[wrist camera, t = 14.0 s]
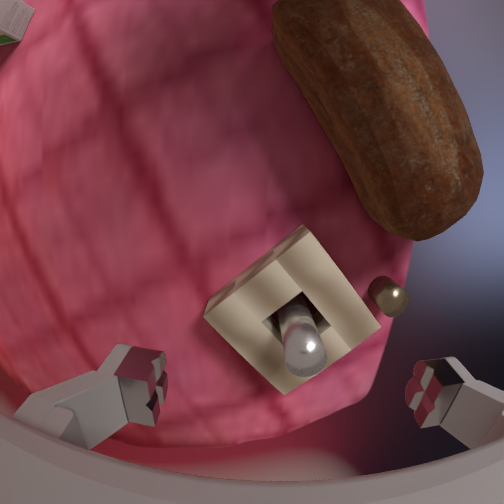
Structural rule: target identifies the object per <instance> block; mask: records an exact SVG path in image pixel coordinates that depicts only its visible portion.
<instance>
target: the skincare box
mask: <svg viewBox="0 0 504 504" xmlns="http://www.w3.org/2000/svg"><path fill="white" fill-rule="evenodd" d="M34 12H35V9H33V8H32V7H30V6H29V5H27V4H26V3H25V2H23V1H22V0H0V46H1V45H5V44H10V43H14V42H19V41H21V40H22V38H23V36H24V33H25V31H26V29H27V26H28V24H29V22H30V20H31V18H32V16H33V14H34Z"/></svg>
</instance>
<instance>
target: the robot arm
mask: <svg viewBox="0 0 504 504" xmlns="http://www.w3.org/2000/svg"><path fill="white" fill-rule="evenodd" d="M165 365H166V356H165V353H164V351H158V350H152V349H147V348H141V347H136V346H131V345H125V344H116V346H115V347H114V348H113V350H112V351H111V352H110V354H109V355H108V356H107V358H106V359H105V360H104V362H103V363H102V365H101V366H100V367H99V369H98V370H97V371H93V370H92V371H90V372H87V373H85V374H82V375H80V376H77V377H75V378H72V379H69V380H67V381H64V382H62V383H59V384H56V385H54V386H51V387H49V388H46V389H43V390H41V391H38V392H35V393H32V394H31V395H30V396H29V397H28V398H27V399H26V401H25V402H24V403H23V404H22V405H21V407H20V408H19V409H18V410H17V411H16V413H15V414H14V415H13V416H12V417H10V416H8V415H6V414H5V413H2V412H1V411H0V504H504V392H503V391H501V390H499V389H497V388H495V387H493V386H490V385H488V384H486V383H484V382H481V381H479V380H478V381H476V380H475V379H474V378H473V377H472V376H471V374H470V373H469V372H468V371H467V370H466V369H465V368H464V366H463V365H462V364H461V363H460V362H459V361H458V360H457V359H456V358H454V357H448V358H441V359H434V360H424V361H418V362H417V364H416V365H415V367H414V370H413V373H414V377H413V378H412V379H411V380H410V381H409V382H408V385H407V387H406V394H405V398H406V402H407V404H408V406H409V407H411V408H412V409H413V410H415V413H414V417H415V419H416V420H417V422H418V424H419V426H420V428H424V427H430V426H436V425H440V426H441V427H442V428H444V429H445V430H446V431H448V432H449V433H450V434H452V435H453V436H454V437H456V438H457V439H458V440H460V441H461V442H462V443H464V444H465V445H466V446H468V447H469V448H470V449H471V450H468V451H465V452H463V453H459V454H456V455H453V456H450V457H447V458H444V459H440V460H436V461H433V462H429V463H425V464H421V465H417V466H413V467H408V468H404V469H399V470H394V471H389V472H383V473H378V474H371V475H365V476H357V477H349V478H340V479H328V480H312V481H250V480H233V479H223V478H212V477H204V476H197V475H189V474H184V473H178V472H172V471H167V470H161V469H157V468H152V467H147V466H143V465H139V464H135V463H131V462H127V461H123V460H120V459H116V458H112V457H109V456H106V455H103V454H99V453H96V452H93V451H90V449H91V448H93V447H94V446H96V445H97V444H99V443H100V442H102V441H103V440H105V439H106V438H108V437H109V436H110V435H112V434H113V433H115V432H116V431H118V430H119V429H120V428H122V427H123V426H125V425H126V424H127V423H128V422H133V423H138V424H143V425H148V426H154V427H155V425H156V422H157V420H158V417H159V414H160V406H159V405H160V404H162V403H163V402H164V401H165V398H166V394H167V388H168V377H167V373H166V372H165V371H164V370H163V369H164V367H165Z"/></svg>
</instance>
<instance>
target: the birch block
mask: <svg viewBox="0 0 504 504" xmlns="http://www.w3.org/2000/svg"><path fill="white" fill-rule="evenodd" d="M302 291H303V292H304V294H305V295H306V296H307V297H308V298H309V300H310V301H311V302H312V303H313V304H314V306H315V307H316V308H317V309H318V311H317V312H316V313H314V314H313V315H312V318H313V320H314V323H315V325H316V327H317V330H318V332H319V335H320V337H321V340H322V342H323V345H324V347H325V350H326V352H327V356H328V359H327V363H326V365H325V367H324V368H323V369H322V370H324V369H325V368H327V367H328V366H330V365H331V364H332V363H334V362H335V361H337V360H338V359H340V358H341V357H342V356H344V355H345V354H347V353H348V352H349V351H351V350H352V349H353V348H355V347H356V346H357V345H359V344H360V343H361V342H363V341H364V340H365V339H367V338H368V337H369V336H371V335H372V334H373V333H374V332H376V331H377V330H378V329H379V328H381V326H380V325H379V323H378V322H377V321H376V319H375V318H374V316H373V315H372V313H371V312H370V311H369V309H368V308H367V306H366V305H365V304H364V302H363V301H362V299H361V298H360V297H359V295H358V294H357V293H356V291H355V290H354V288H353V287H352V286H351V284H350V283H349V282H348V280H347V279H346V278H345V276H344V275H343V274H342V272H341V271H340V269H339V268H338V267H337V265H336V264H335V263H334V262H333V260H332V259H331V258H330V256H329V255H328V254H327V252H326V251H325V250H324V248H323V247H322V246H321V244H320V243H319V242H318V241H317V239H316V238H315V237H314V235H313V234H312V233H311V232H310V231H309V230H308V229H307V228H306V227H305V226H304V225H303V224H302V225H301V226H299V227H298V228H297V229H296V230H294V231H293V232H292V233H291V234H289V235H288V236H287V237H286V238H284V239H283V240H282V241H281V242H280V243H278V244H277V245H276V246H275V247H273V248H272V249H271V250H270V251H268V252H267V253H266V254H265V255H263V256H262V257H261V258H260V259H258V260H257V261H256V262H255V263H253V264H252V265H251V266H250V267H248V268H247V269H246V270H245V271H243V272H242V273H241V274H240V275H238V276H237V277H236V278H235V279H233V280H232V281H231V282H230V283H228V284H227V285H226V286H225V287H223V288H222V289H221V290H220V291H218V292H217V293H216V294H215V295H213V296H212V297H211V298H210V299H209V301H208V304H207V306H206V309H205V312H204V315H203V317H204V318H205V319H206V320H207V321H208V323H209V324H210V325H211V326H212V327H213V328H214V329H215V330H216V331H217V332H218V333H219V334H220V335H221V336H222V337H223V338H224V339H225V340H226V341H227V342H228V343H229V344H230V345H231V346H232V347H233V348H234V349H235V350H236V351H237V352H238V353H239V354H240V355H241V356H243V357H244V358H245V359H246V360H247V361H248V362H249V363H250V364H251V365H252V366H253V367H254V368H255V369H256V370H257V371H258V372H259V373H260V374H261V375H262V376H264V377H265V378H266V379H267V380H268V381H269V382H270V383H271V384H272V385H273V386H274V387H275V388H277V389H278V390H279V391H280V392H281V393H282V394H283V395H285V394H287V393H288V392H290V391H292V390H293V389H295V388H296V387H298V386H300V385H301V384H303V383H304V382H306V381H307V380H309V379H310V378H312V377H313V376H315V375H316V374H315V375H313V376H309V377H299V376H296V375H294V374H292V373H291V372H290V371H289V370H288V368H287V364H286V359H285V353H284V347H283V342H282V336H281V330H280V325H279V324H278V323H277V322H276V321H275V319H274V318H273V317H272V316H271V314H273V313H274V312H275V311H277V310H278V309H279V308H281V307H282V306H283V305H285V304H286V303H287V302H288V301H290V300H291V299H292V298H294V297H295V296H296V295H298V294H299V293H300V292H302ZM322 370H321V371H322ZM321 371H320V372H321ZM317 374H318V373H317Z"/></svg>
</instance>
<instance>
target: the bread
mask: <svg viewBox="0 0 504 504" xmlns="http://www.w3.org/2000/svg"><path fill="white" fill-rule="evenodd" d="M272 20H273V28H272V33H273V38H274V44H275V47H276V50H277V52H278V55H279V57H280V59H281V61H282V62H283V64H284V66H285V67H286V69H287V70H288V72H289V73H290V75H291V76H292V78H293V79H294V81H295V82H296V84H297V85H298V87H299V88H300V90H301V92H302V93H303V95H304V97H305V98H306V100H307V102H308V104H309V105H310V107H311V109H312V111H313V113H314V114H315V116H316V118H317V119H318V121H319V123H320V125H321V127H322V129H323V130H324V132H325V134H326V136H327V137H328V139H329V140H330V142H331V144H332V145H333V147H334V149H335V150H336V152H337V154H338V155H339V157H340V159H341V161H342V163H343V165H344V167H345V169H346V171H347V173H348V175H349V177H350V179H351V181H352V183H353V186H354V188H355V190H356V193H357V195H358V198H359V200H360V201H361V203H362V205H363V207H364V208H365V210H366V212H367V213H368V214H369V216H370V217H371V219H372V220H373V221H375V222H376V223H378V224H379V225H380V226H382V227H383V228H384V229H385V230H386V231H388V232H389V233H391V234H394V235H398V236H401V237H403V238H407V239H411V240H414V241H421V240H426V239H429V238H431V237H434V236H436V235H438V234H440V233H442V232H444V231H445V230H446V229H448V228H449V227H451V225H453V224H455V223H456V222H457V221H458V220H460V219H461V218H462V217H463V216H465V215H466V214H467V212H468V211H469V210H470V208H471V207H472V206H473V204H474V203H475V202H476V200H477V197H478V195H479V191H480V187H481V183H482V178H483V173H484V172H483V165H482V159H481V154H480V151H479V148H478V145H477V142H476V139H475V136H474V133H473V130H472V127H471V124H470V121H469V117H468V115H467V112H466V110H465V107H464V105H463V102H462V100H461V98H460V96H459V94H458V92H457V90H456V88H455V86H454V84H453V82H452V80H451V78H450V76H449V74H448V72H447V70H446V68H445V66H444V64H443V62H442V60H441V58H440V57H439V55H438V53H437V52H436V50H435V48H434V47H433V45H432V44H431V42H430V41H429V39H428V38H427V36H426V35H425V33H424V31H423V30H422V28H421V27H420V25H419V24H418V22H417V21H416V20H415V19H414V17H413V16H412V15H411V13H410V12H409V11H408V10H407V8H406V7H405V6H404V5H403V3H402V2H401V1H400V0H277V1H276V3H275V4H274V5H273V18H272Z"/></svg>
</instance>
